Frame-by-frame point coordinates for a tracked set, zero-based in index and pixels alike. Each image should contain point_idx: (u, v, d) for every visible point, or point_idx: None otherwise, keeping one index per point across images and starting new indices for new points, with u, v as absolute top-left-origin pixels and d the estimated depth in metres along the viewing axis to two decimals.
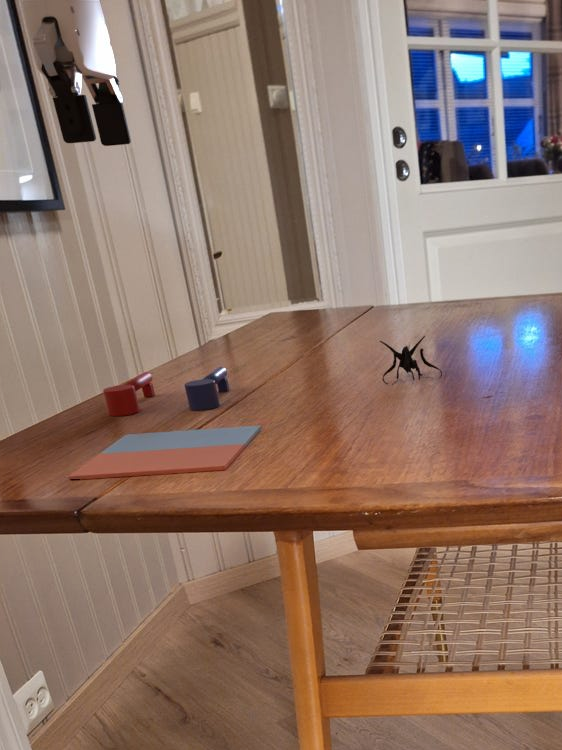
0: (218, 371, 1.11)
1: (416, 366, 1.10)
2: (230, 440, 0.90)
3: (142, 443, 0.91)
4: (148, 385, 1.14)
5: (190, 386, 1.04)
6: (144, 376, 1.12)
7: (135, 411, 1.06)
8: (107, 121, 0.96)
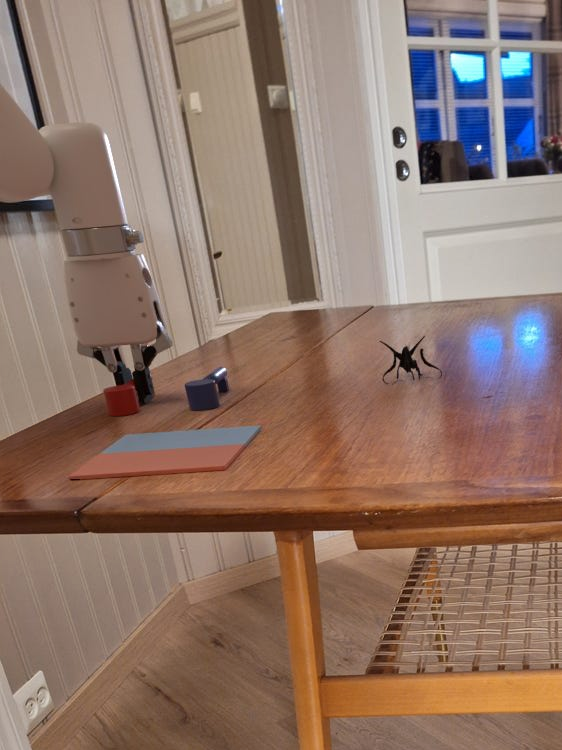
0: (218, 371, 1.11)
1: (416, 366, 1.10)
2: (230, 440, 0.90)
3: (142, 443, 0.91)
4: None
5: (190, 386, 1.04)
6: None
7: (135, 411, 1.06)
8: None
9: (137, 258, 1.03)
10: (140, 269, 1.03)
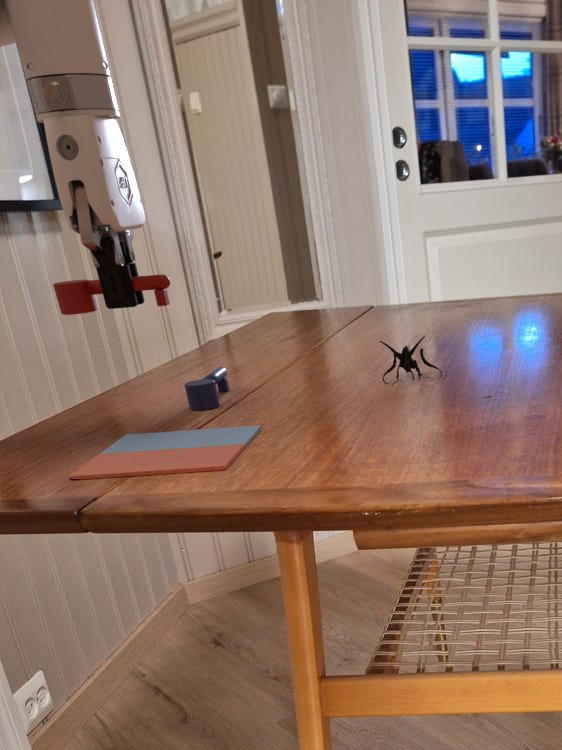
0: (218, 371, 1.11)
1: (416, 366, 1.10)
2: (230, 440, 0.90)
3: (142, 443, 0.91)
4: None
5: (190, 386, 1.04)
6: (141, 278, 0.90)
7: (66, 312, 0.90)
8: None
9: (55, 121, 0.80)
10: (54, 136, 0.80)
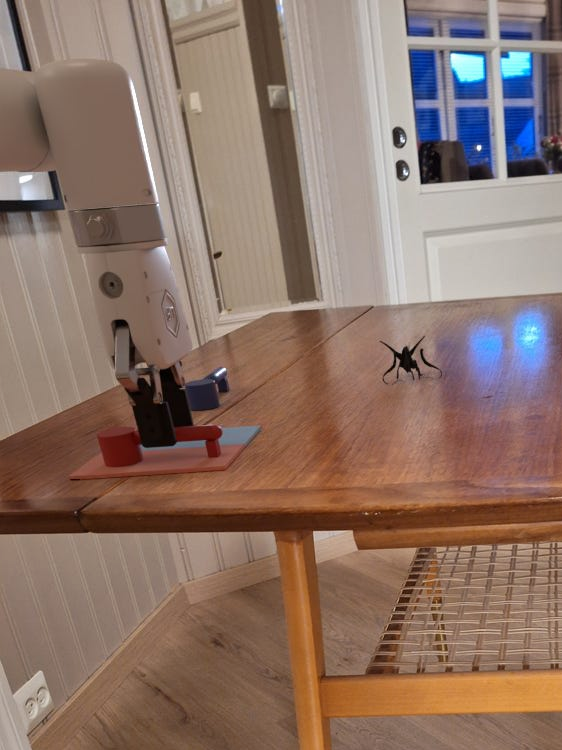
0: (218, 371, 1.11)
1: (416, 366, 1.10)
2: (230, 440, 0.90)
3: None
4: None
5: (190, 386, 1.04)
6: (192, 429, 0.83)
7: (110, 465, 0.83)
8: None
9: (98, 257, 0.72)
10: (97, 273, 0.73)
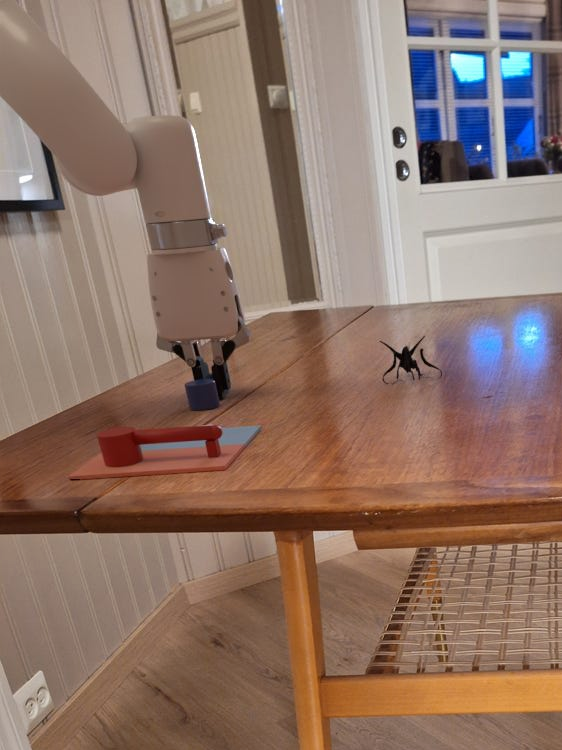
0: None
1: (416, 366, 1.10)
2: (230, 440, 0.90)
3: None
4: None
5: (190, 386, 1.04)
6: (192, 429, 0.83)
7: (110, 465, 0.83)
8: None
9: (220, 252, 1.02)
10: (223, 263, 1.02)
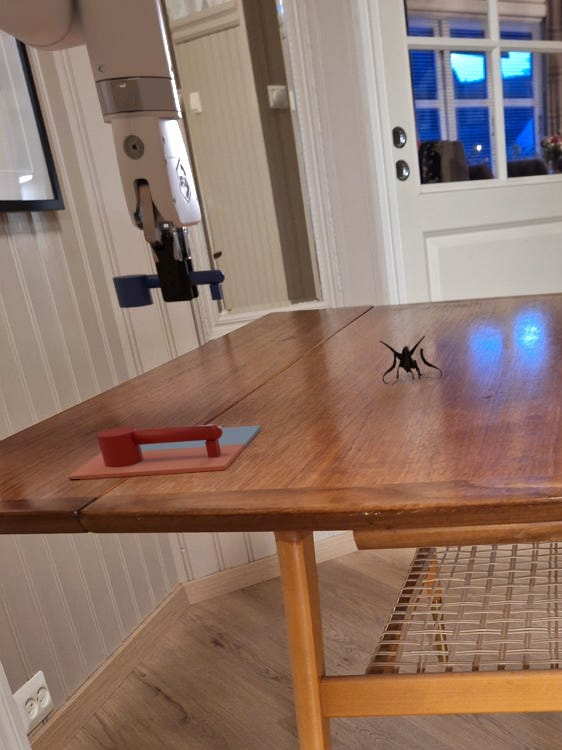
0: (193, 272, 0.94)
1: (416, 366, 1.10)
2: (230, 440, 0.90)
3: None
4: None
5: (117, 277, 0.95)
6: (192, 429, 0.83)
7: (110, 465, 0.83)
8: None
9: (123, 122, 0.83)
10: (121, 136, 0.84)
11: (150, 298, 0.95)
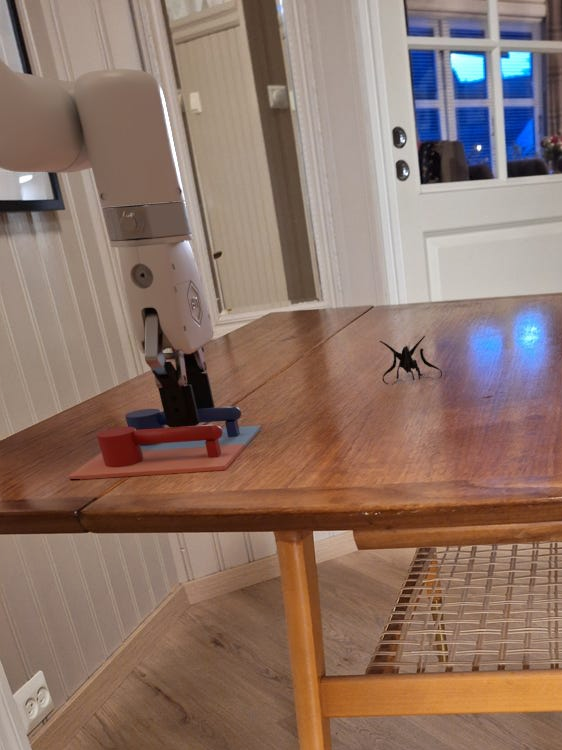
0: (208, 410, 0.90)
1: (416, 366, 1.10)
2: (230, 440, 0.90)
3: None
4: None
5: (129, 413, 0.91)
6: (192, 429, 0.83)
7: (110, 465, 0.83)
8: None
9: (130, 250, 0.79)
10: (129, 265, 0.79)
11: None
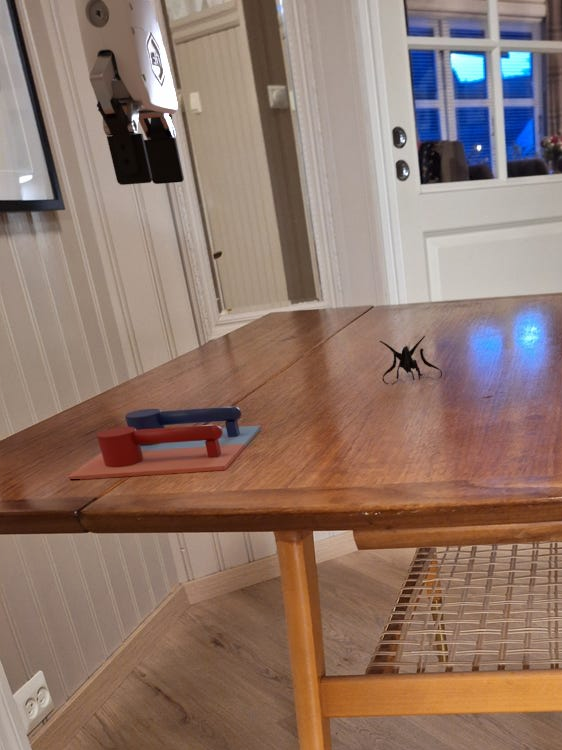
0: (208, 410, 0.90)
1: (416, 366, 1.10)
2: (230, 440, 0.90)
3: None
4: None
5: (129, 413, 0.91)
6: (192, 429, 0.83)
7: (110, 465, 0.83)
8: None
9: None
10: (84, 1, 0.75)
11: None
